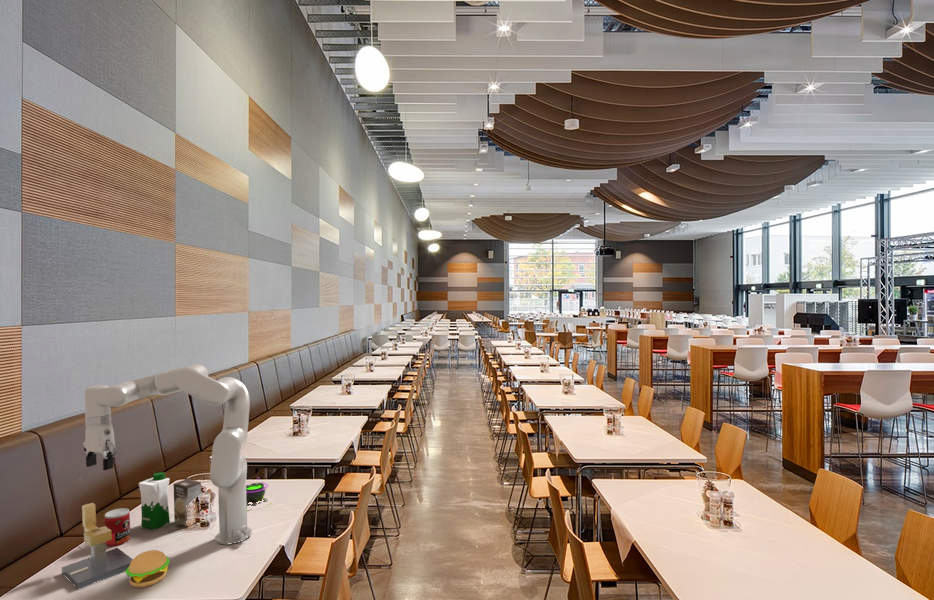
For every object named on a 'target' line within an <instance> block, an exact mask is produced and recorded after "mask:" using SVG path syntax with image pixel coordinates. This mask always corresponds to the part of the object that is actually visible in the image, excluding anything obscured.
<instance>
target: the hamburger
mask: <svg viewBox="0 0 934 600" xmlns="http://www.w3.org/2000/svg"><path fill="white" fill-rule="evenodd" d="M132 559H133V560H132V561H131V563H130V565H129V567H128V568H127V569H126V571H125V574H126V575H127V576H129V584H130V585H131V587H135V588H145V587H149V586H153V585H155V584H157V583H159V582H161V581H162V580H163V579H164V578H165V577H166V576H167V572H168V570H169V569H168V566H169V564H170V559H169V557H168V556H167V555H166V554H165V553H164V552H163V551H160V550H158V549H151V550H146V551H143V552H141V553H139V554H137V555H136V556H135V557H134V558H132Z"/></svg>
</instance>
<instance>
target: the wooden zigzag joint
mask: <svg viewBox="0 0 934 600" xmlns="http://www.w3.org/2000/svg"><path fill="white" fill-rule="evenodd" d="M96 510H97V509H96V504H95V503H94V502H91V503H86V504H83V505H81V511H82V512H81V513H82V514H81V515H82V516H81V517H82V520H81V521H82V527H83V542H84V543H85V544H86V545H87V546H89V547H90V548H91V546H94V545H97V544H100V543H103V542H105V543H106V541H109V540H112V533H111V530H110V529H108V528H107V527H106V526H105V525H104V526H101V527H98V526H97V514H96Z"/></svg>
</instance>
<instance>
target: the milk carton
mask: <svg viewBox="0 0 934 600" xmlns="http://www.w3.org/2000/svg"><path fill="white" fill-rule="evenodd" d="M169 485H170V477H166V473H165V472H164V471H160V472H159V471H158V472H155V473H153V475H152V477H150V478H148V479H145V480H143V481H140V482H138V487H139V491H140V506H141V509H140V510H141V524H140V525H141V526H140V528H141V527H143V528H142V529H145V528H147V529H146V530H150V529H151V530H150V531H155V530H157V529H160V528H161V526H162V527H164V526H166V525H168V524H170V522H171V521H170V518H171V517H170V511H169V510H170V509H169ZM167 523H168V524H167ZM165 524H166V525H165ZM163 525H164V526H163ZM159 527H160V528H159ZM154 529H155V530H154Z"/></svg>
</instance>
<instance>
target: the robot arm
mask: <svg viewBox="0 0 934 600" xmlns="http://www.w3.org/2000/svg"><path fill="white" fill-rule="evenodd" d="M180 392H184V393H186V394H188V395H189V396H192V397H194V398H195V399H198V400H200V401H202V402H205V403H206V404H208V405H212V406H222V405H224V404H226V405H225V409H224V414H223V415H224V416H223V426H222V429H221V432H220V433H219V434H217V436H216V437H215V439H214V441H213V444H212V449H211V450H212V451H211V459H210V460H211V461H210V470H209V472H210V473H209V476H210V480H211V483H212V484H213V485H214V486H215V487H217V488H218V495H217V496H218V499H217V500H218V521H219V523H218V526H219V528H218V529H219V530H218V531H219V532H218V533H217V534H216V535H215V537H214V542H215V541H216V542H217V543H216V542H215V543H216V544H218V543H221V544H228V543H234V542H238V541H241V540H244V539H246V538H247V539H249V538H250V537H251V536H252V534H251V533H253V531H252V528H251V527H248V510H247V502H246V485H247V475H248V474H247V473H248V463H247V460H246V457H245V455H244V454H243V453H242V449H243V447H245V445H246V443H247V440H248V431H249V419H250V418H249V417H250V406H251V402H250V401H251V400H250V399H251V398H250V392H249V390H248V388H247V386H246V385H245V384H244V383H243V382H242V381H240V380H239V379H237V378H235V377H231V376H225V377H222V378H218V380H216V379H214V378H212V377H210V376H209V370H208V369H207V367H206V366H204V365H203V364H199V363H198V364H197V363H195V364H190V365H186V366H182V367H178V368H174V369H169V370H166V371H162V372H158V373H155V374H152V375H148V376H145V377H141V378H136V379H132V380H128V381H125V382H122V383H118V384H116V385H112V386H110V385H106V384H98V385H97V384H96V385H92V386H88V387H86V388H85V390H84V412H85V413H84V415H85V417H84V418H85V433H84V434H85V436H84V441H83V442H82V446H83V448H84V449H83V450H84V455H85V464H86V465H85V466H86V467H87V468H89V467H93V466H96V465H97V454H101V455H102V456H103V457H102V458H103V459H102V468H103V469H102V470H103V471H107V470H111V469H114V457H115V454H116V450H117V446H116V443H115V442H116V441H115V431H114V427H113V424H112V410H111V409H112V408H113V407H114V408H118V407H121V406H125V405H127V404H129V403H131V402H134V401H136V400H140V399H144V398H148V397H152V396H153V397H154V396H156V395H157V396H158V395H159V396H168V395H173V394H175V393H180ZM111 407H112V408H111ZM250 535H251V536H250ZM249 536H250V537H249ZM248 537H249V538H248ZM247 539H246V540H247ZM244 541H245V540H244ZM221 544H220V545H221Z"/></svg>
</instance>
